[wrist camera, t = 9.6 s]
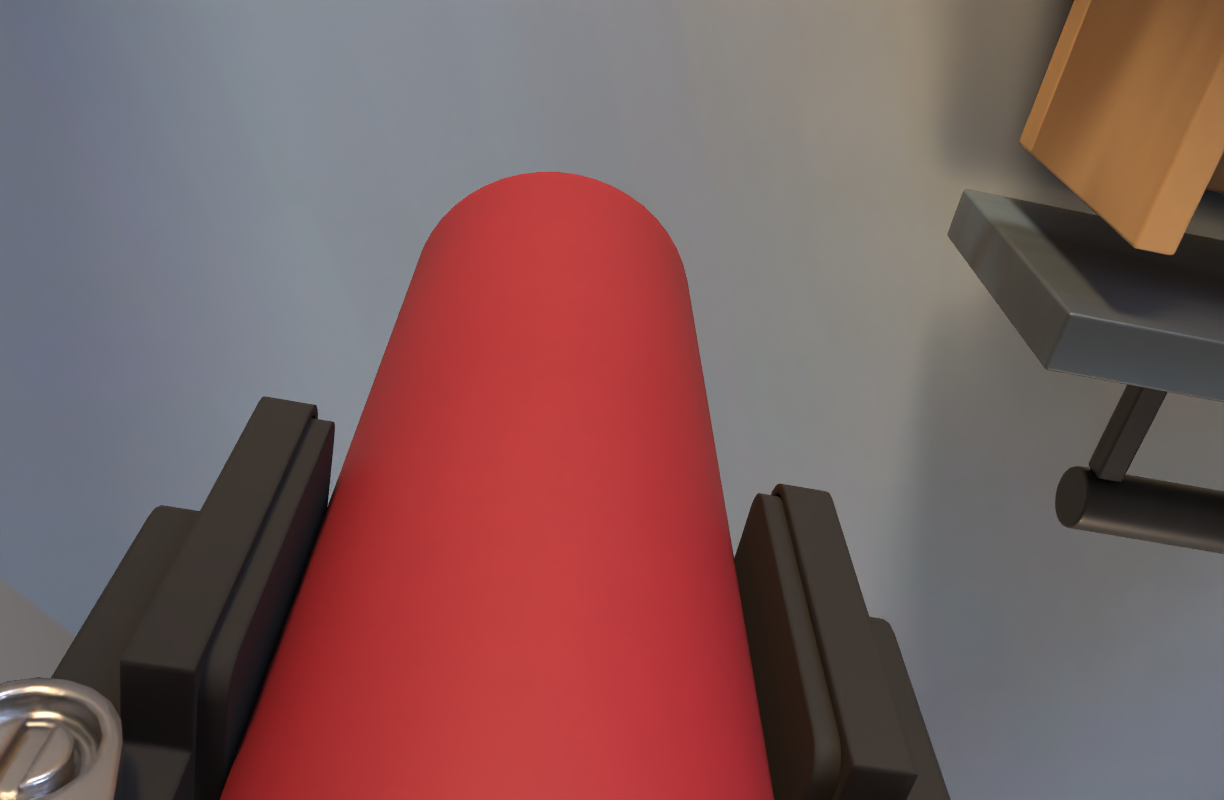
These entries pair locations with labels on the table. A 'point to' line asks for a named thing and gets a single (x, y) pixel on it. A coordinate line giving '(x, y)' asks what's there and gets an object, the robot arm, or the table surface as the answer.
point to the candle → (522, 537)
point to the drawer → (1121, 246)
